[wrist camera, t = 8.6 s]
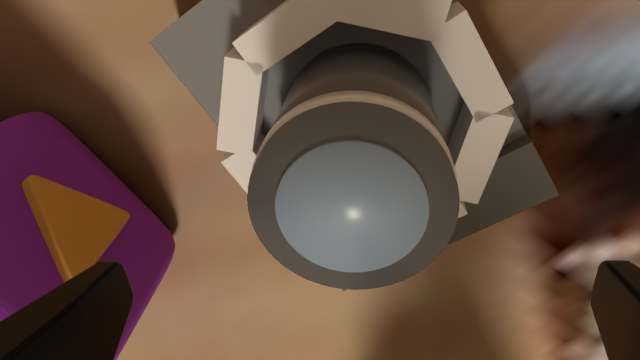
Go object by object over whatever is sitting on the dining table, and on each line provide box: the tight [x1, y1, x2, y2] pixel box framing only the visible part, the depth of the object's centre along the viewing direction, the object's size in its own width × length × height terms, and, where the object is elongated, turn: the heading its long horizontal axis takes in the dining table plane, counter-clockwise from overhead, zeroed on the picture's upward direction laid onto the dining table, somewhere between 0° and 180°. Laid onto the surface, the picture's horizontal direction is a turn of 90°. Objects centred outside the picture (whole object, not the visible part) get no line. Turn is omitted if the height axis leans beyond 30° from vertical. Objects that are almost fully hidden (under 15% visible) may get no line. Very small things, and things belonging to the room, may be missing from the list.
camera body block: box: [149, 0, 559, 291], centre depth 17 cm, size 12×9×4 cm
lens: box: [247, 43, 460, 290], centre depth 14 cm, size 5×5×6 cm
